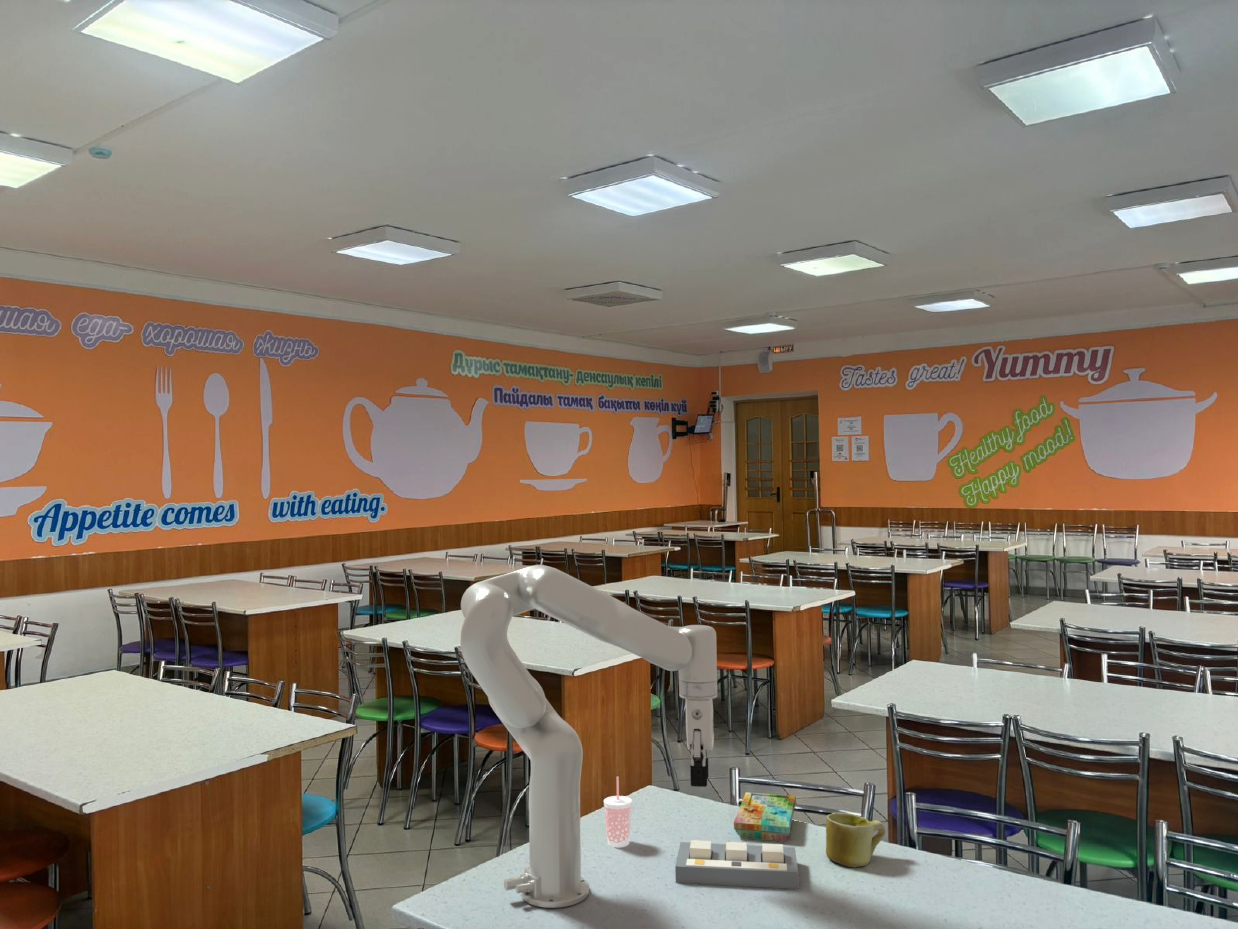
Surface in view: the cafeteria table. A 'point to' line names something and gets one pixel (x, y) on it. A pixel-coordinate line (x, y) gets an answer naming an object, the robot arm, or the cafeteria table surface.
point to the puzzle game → (765, 816)
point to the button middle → (736, 851)
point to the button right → (772, 853)
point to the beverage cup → (618, 819)
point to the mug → (851, 838)
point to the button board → (737, 868)
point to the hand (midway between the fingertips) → (699, 781)
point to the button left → (700, 850)
